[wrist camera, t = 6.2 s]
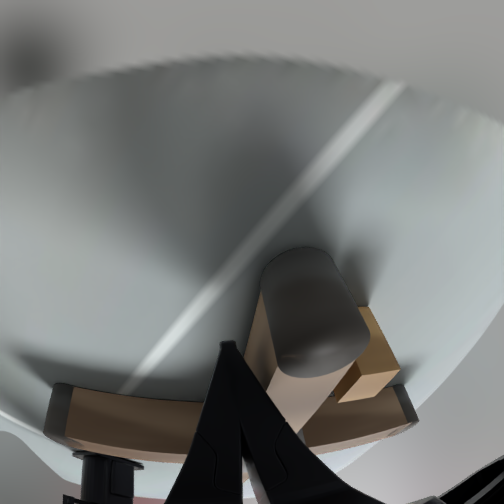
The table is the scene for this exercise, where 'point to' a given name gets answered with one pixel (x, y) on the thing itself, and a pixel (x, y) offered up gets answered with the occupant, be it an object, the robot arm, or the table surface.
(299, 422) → the folding leg
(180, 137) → the table surface
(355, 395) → the stool base
